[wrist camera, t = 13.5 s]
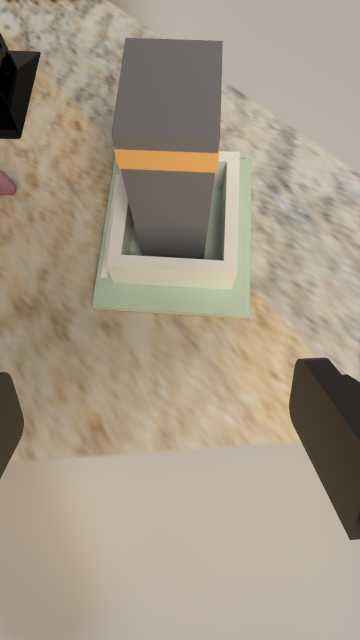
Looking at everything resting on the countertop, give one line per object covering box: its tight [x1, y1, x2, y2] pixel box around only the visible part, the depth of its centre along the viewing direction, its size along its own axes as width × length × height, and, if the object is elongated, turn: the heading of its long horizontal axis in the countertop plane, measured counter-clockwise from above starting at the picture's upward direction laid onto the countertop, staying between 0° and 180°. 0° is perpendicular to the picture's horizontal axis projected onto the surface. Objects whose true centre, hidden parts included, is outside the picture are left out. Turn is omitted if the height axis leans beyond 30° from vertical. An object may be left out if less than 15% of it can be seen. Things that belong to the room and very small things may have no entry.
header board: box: [92, 151, 251, 319], centre depth 22 cm, size 10×12×3 cm
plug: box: [112, 38, 222, 259], centre depth 18 cm, size 4×5×10 cm
